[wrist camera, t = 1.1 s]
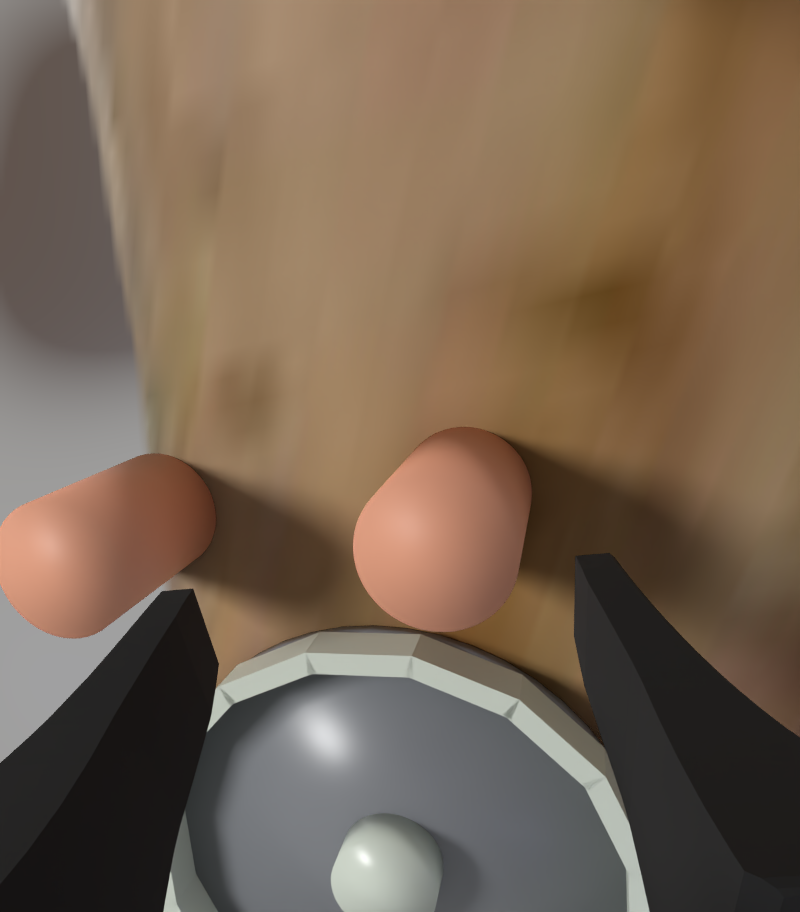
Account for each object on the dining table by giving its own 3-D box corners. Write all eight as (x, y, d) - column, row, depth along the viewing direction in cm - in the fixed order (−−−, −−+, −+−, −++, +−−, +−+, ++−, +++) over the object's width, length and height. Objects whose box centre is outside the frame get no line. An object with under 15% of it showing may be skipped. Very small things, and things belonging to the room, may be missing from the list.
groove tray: (732, 995, 28) (745, 1054, 26) (309, 1074, 34) (291, 1126, 31) (510, 550, 26) (504, 574, 24) (98, 714, 31) (64, 746, 29)
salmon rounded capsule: (554, 524, 25) (548, 598, 20) (436, 571, 27) (399, 653, 21) (496, 405, 25) (472, 444, 19) (379, 459, 26) (324, 512, 20)
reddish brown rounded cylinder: (236, 540, 28) (150, 609, 22) (145, 582, 29) (42, 657, 24) (178, 434, 28) (75, 476, 22) (88, 482, 29) (-31, 533, 23)
